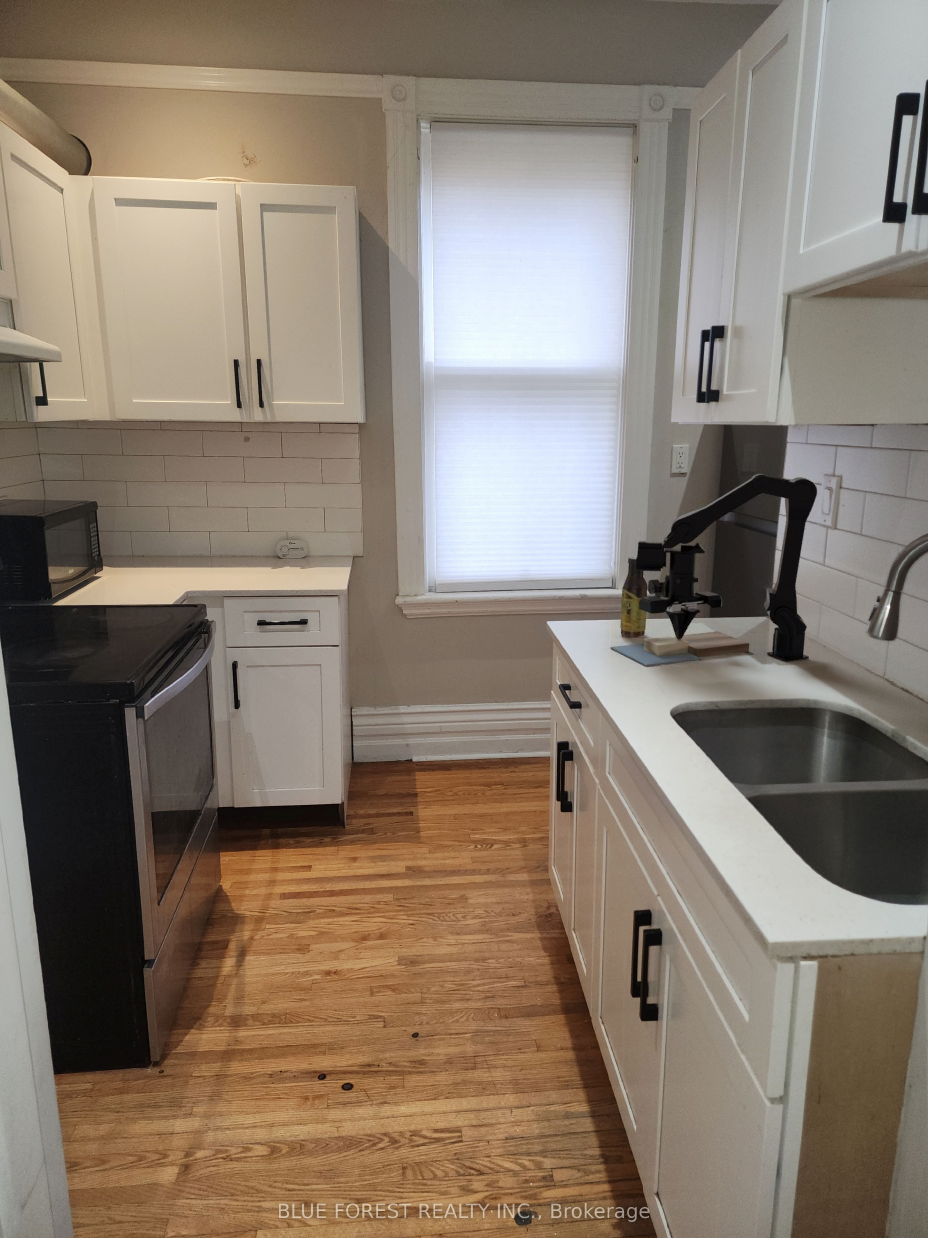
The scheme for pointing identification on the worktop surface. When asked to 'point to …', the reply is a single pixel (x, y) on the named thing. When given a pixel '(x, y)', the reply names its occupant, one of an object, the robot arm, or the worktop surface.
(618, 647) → the rubber mat
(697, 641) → the walnut board
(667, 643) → the beech tile
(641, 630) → the sauce bottle
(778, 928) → the worktop surface
